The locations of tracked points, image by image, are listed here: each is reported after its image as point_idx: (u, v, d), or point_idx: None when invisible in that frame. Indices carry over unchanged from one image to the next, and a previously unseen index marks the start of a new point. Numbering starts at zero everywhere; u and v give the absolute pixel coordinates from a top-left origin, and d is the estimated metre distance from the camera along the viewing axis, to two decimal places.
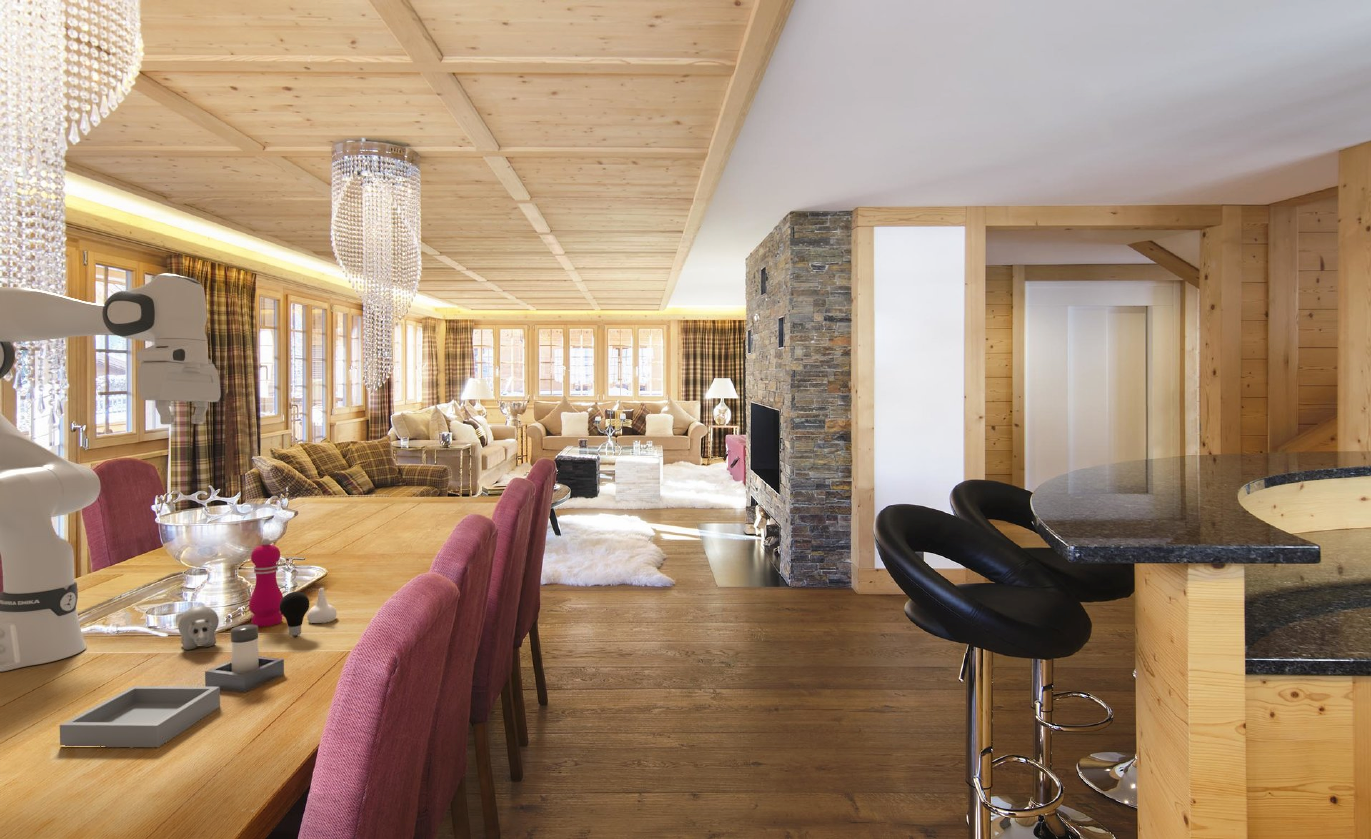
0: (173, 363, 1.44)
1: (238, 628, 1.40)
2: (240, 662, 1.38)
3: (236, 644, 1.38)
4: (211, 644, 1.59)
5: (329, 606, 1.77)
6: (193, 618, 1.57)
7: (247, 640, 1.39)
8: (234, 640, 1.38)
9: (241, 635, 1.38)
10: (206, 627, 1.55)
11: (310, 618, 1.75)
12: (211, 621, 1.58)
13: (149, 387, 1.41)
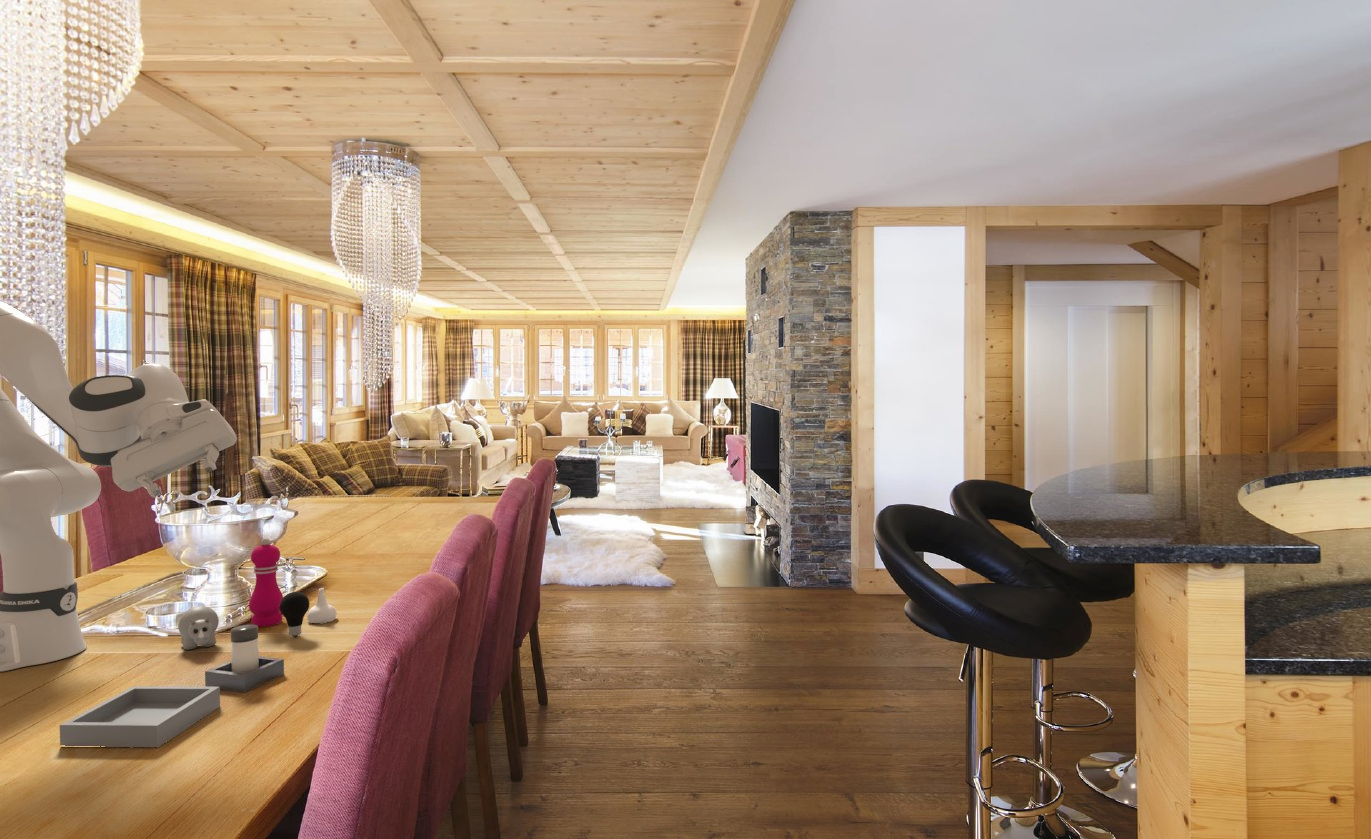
0: None
1: (238, 628, 1.40)
2: (240, 662, 1.38)
3: (236, 644, 1.38)
4: (211, 644, 1.59)
5: (329, 606, 1.77)
6: (193, 618, 1.57)
7: (247, 640, 1.39)
8: (234, 640, 1.38)
9: (241, 635, 1.38)
10: (206, 627, 1.55)
11: (310, 619, 1.75)
12: (211, 621, 1.58)
13: (232, 430, 1.41)
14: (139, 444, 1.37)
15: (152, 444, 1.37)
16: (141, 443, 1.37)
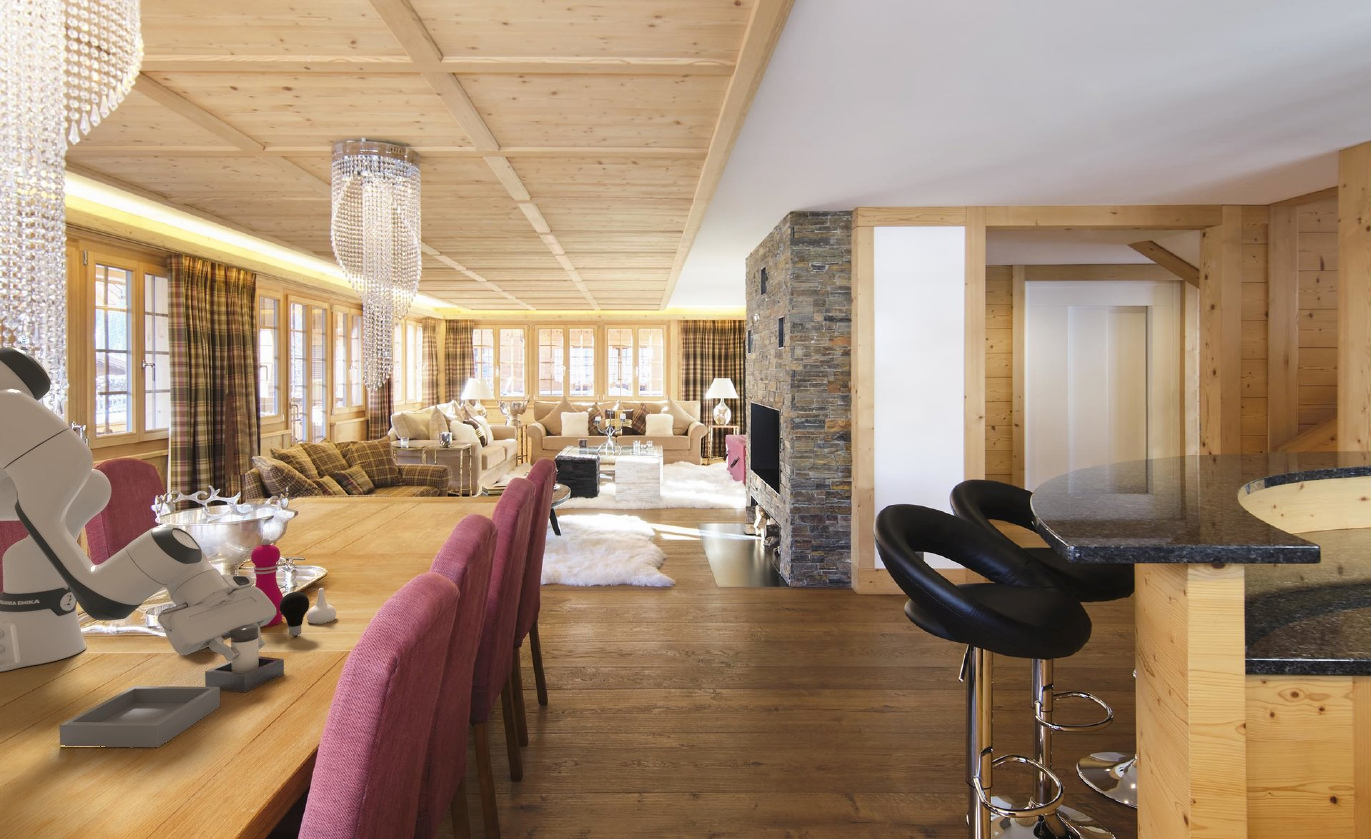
0: None
1: (238, 628, 1.40)
2: (240, 662, 1.38)
3: (236, 644, 1.38)
4: None
5: (329, 606, 1.77)
6: None
7: (247, 640, 1.39)
8: (234, 640, 1.38)
9: (241, 635, 1.38)
10: None
11: (310, 619, 1.75)
12: None
13: None
14: (196, 607, 1.37)
15: (208, 610, 1.39)
16: (197, 607, 1.38)
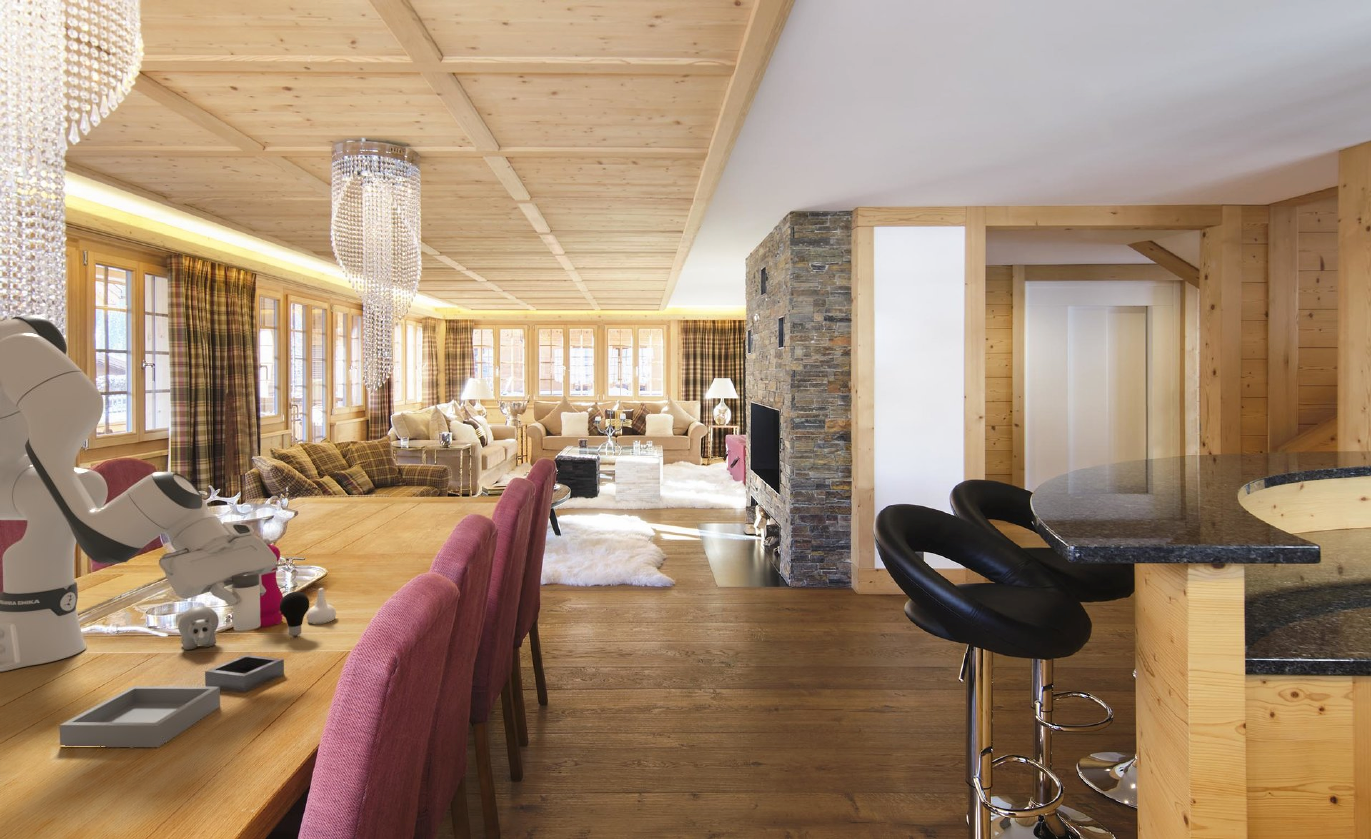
0: None
1: (239, 574, 1.40)
2: (241, 607, 1.38)
3: (238, 590, 1.38)
4: (211, 644, 1.59)
5: (328, 606, 1.77)
6: (193, 618, 1.57)
7: (248, 586, 1.39)
8: (235, 586, 1.38)
9: (242, 581, 1.38)
10: (206, 627, 1.55)
11: (310, 619, 1.74)
12: (211, 621, 1.58)
13: None
14: (197, 553, 1.37)
15: (209, 556, 1.39)
16: (198, 552, 1.38)
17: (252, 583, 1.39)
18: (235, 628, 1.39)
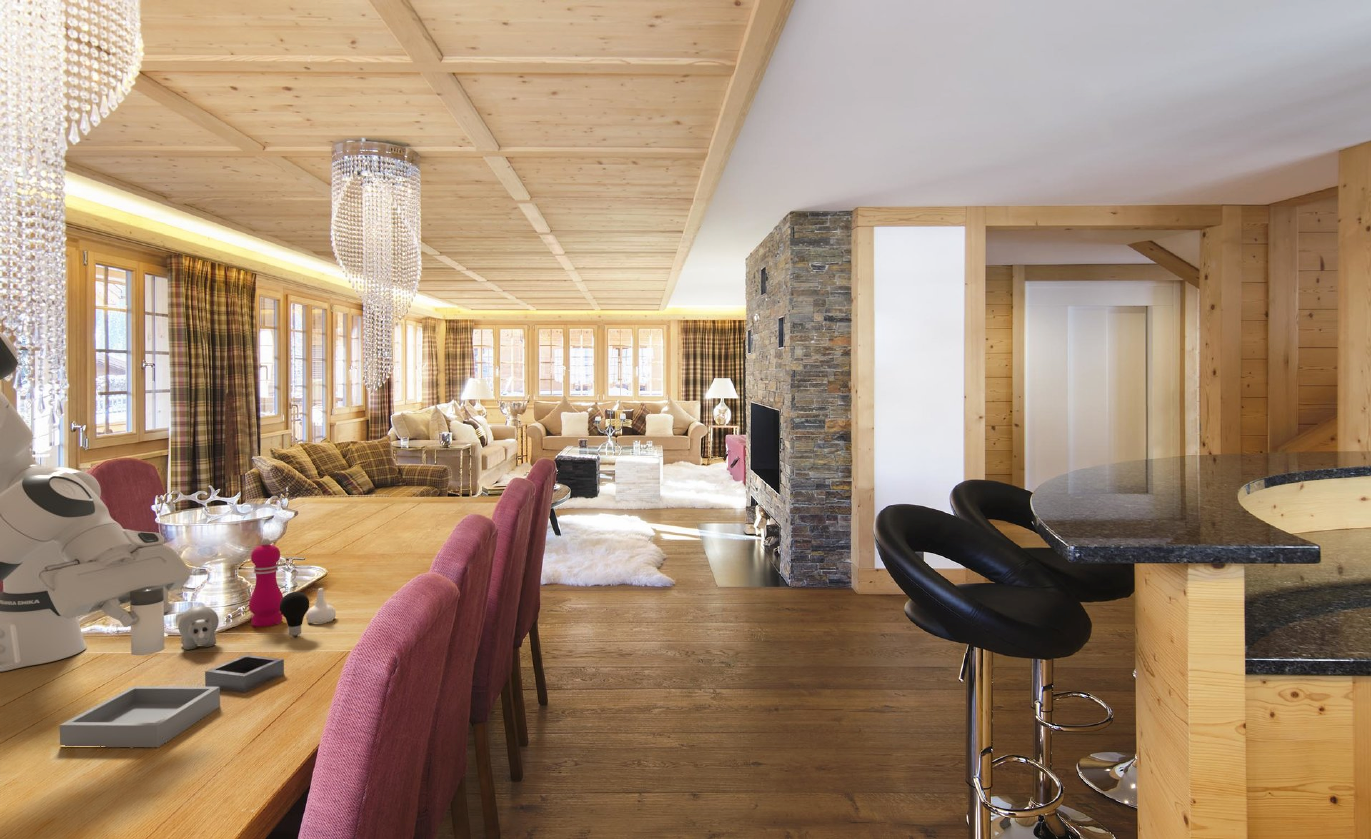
0: None
1: (139, 589, 1.21)
2: (140, 628, 1.20)
3: (136, 607, 1.19)
4: (211, 644, 1.59)
5: (328, 606, 1.77)
6: (193, 618, 1.57)
7: (148, 603, 1.20)
8: (133, 603, 1.19)
9: (140, 597, 1.19)
10: (206, 627, 1.55)
11: (309, 619, 1.74)
12: (211, 621, 1.58)
13: None
14: (88, 565, 1.19)
15: (104, 568, 1.20)
16: (90, 564, 1.19)
17: (153, 600, 1.20)
18: (132, 652, 1.20)
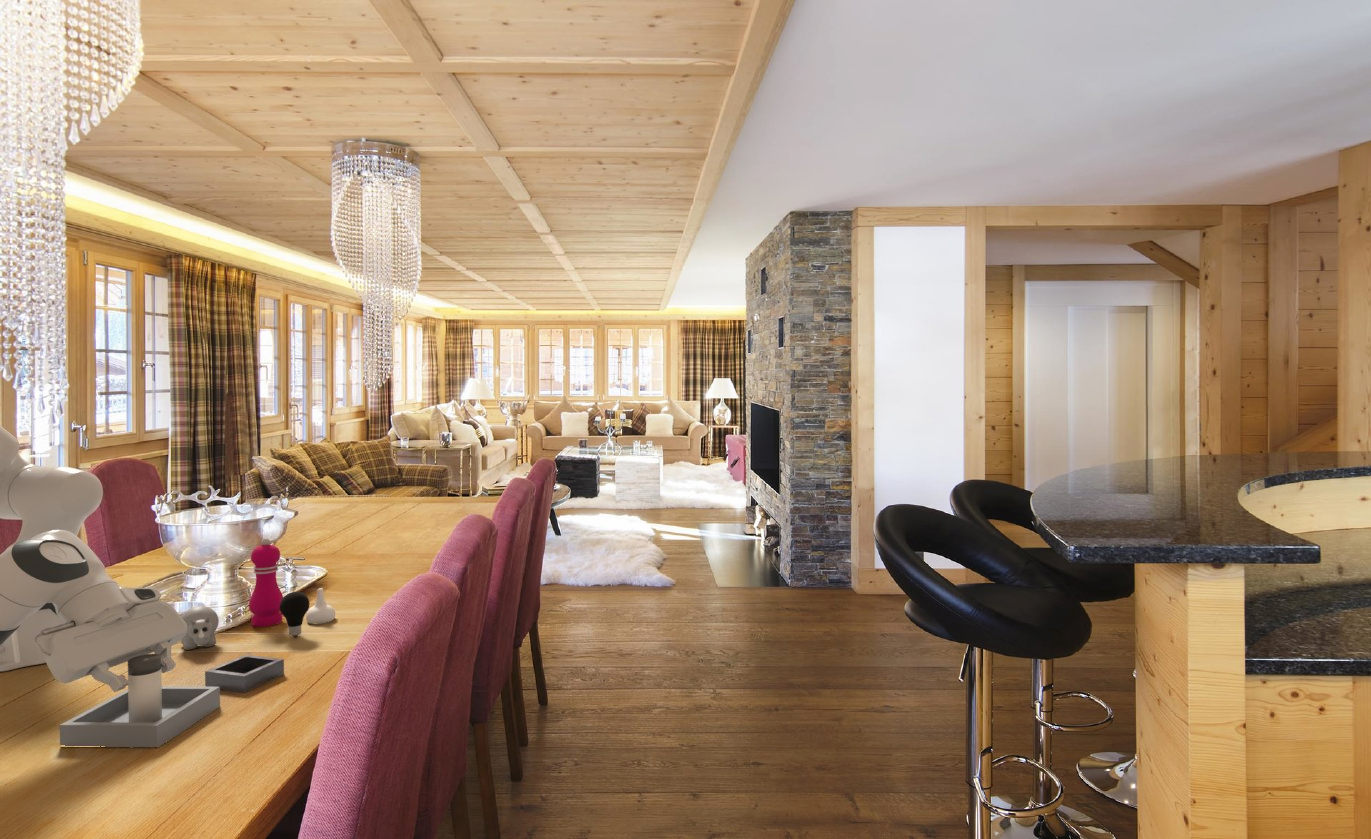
0: None
1: (137, 658, 1.21)
2: (137, 698, 1.19)
3: (133, 677, 1.19)
4: (211, 644, 1.59)
5: (328, 606, 1.77)
6: (193, 618, 1.57)
7: (146, 673, 1.20)
8: (131, 673, 1.19)
9: (138, 667, 1.19)
10: (206, 627, 1.55)
11: (309, 619, 1.74)
12: (211, 621, 1.58)
13: None
14: (84, 627, 1.18)
15: (100, 629, 1.20)
16: (86, 626, 1.19)
17: (151, 669, 1.20)
18: (130, 722, 1.20)
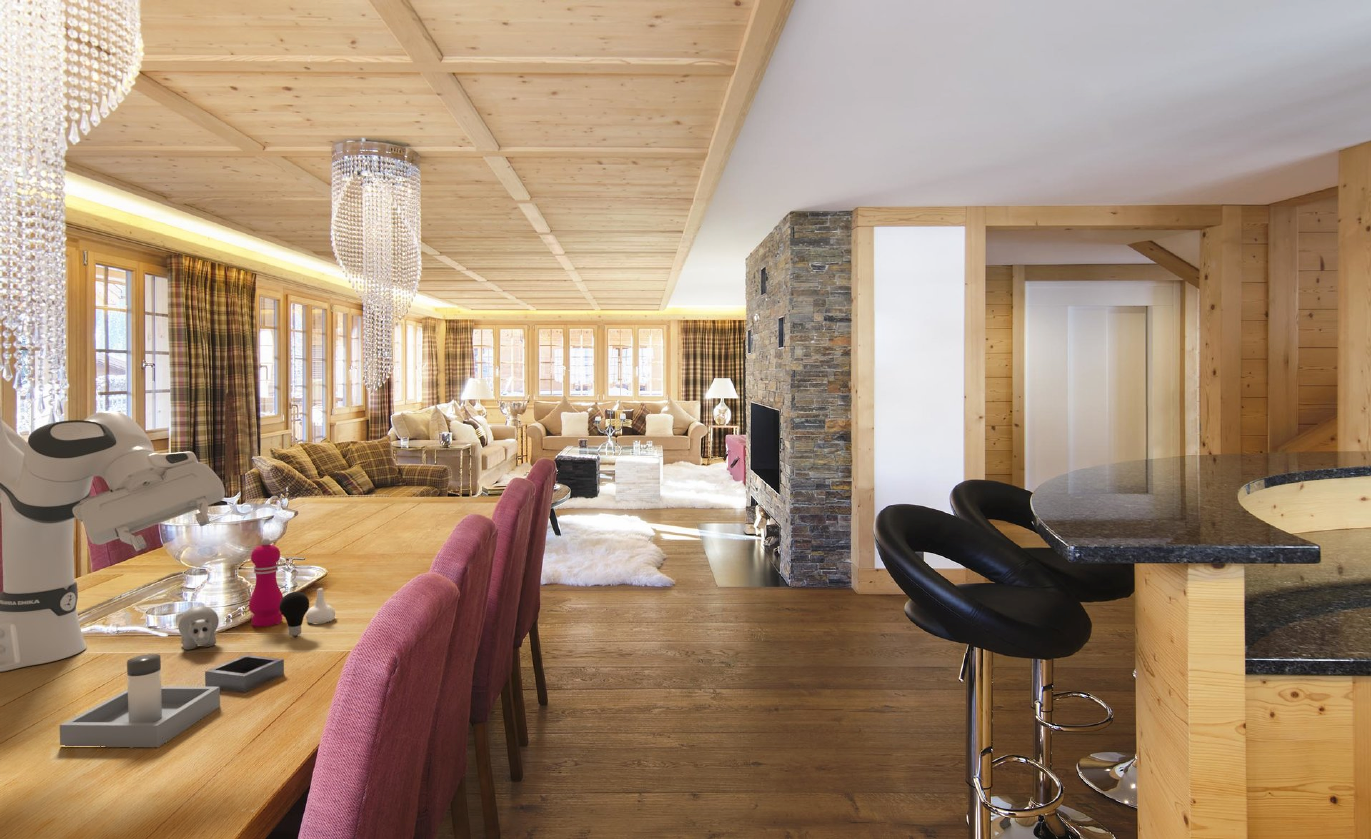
0: None
1: (136, 659, 1.21)
2: (137, 699, 1.19)
3: (133, 678, 1.19)
4: (211, 644, 1.59)
5: (328, 606, 1.77)
6: (193, 618, 1.57)
7: (146, 673, 1.20)
8: (130, 673, 1.19)
9: (138, 668, 1.19)
10: (206, 627, 1.55)
11: (309, 619, 1.74)
12: (211, 621, 1.58)
13: None
14: (113, 494, 1.25)
15: (130, 494, 1.26)
16: (115, 493, 1.26)
17: (150, 670, 1.20)
18: (130, 722, 1.20)
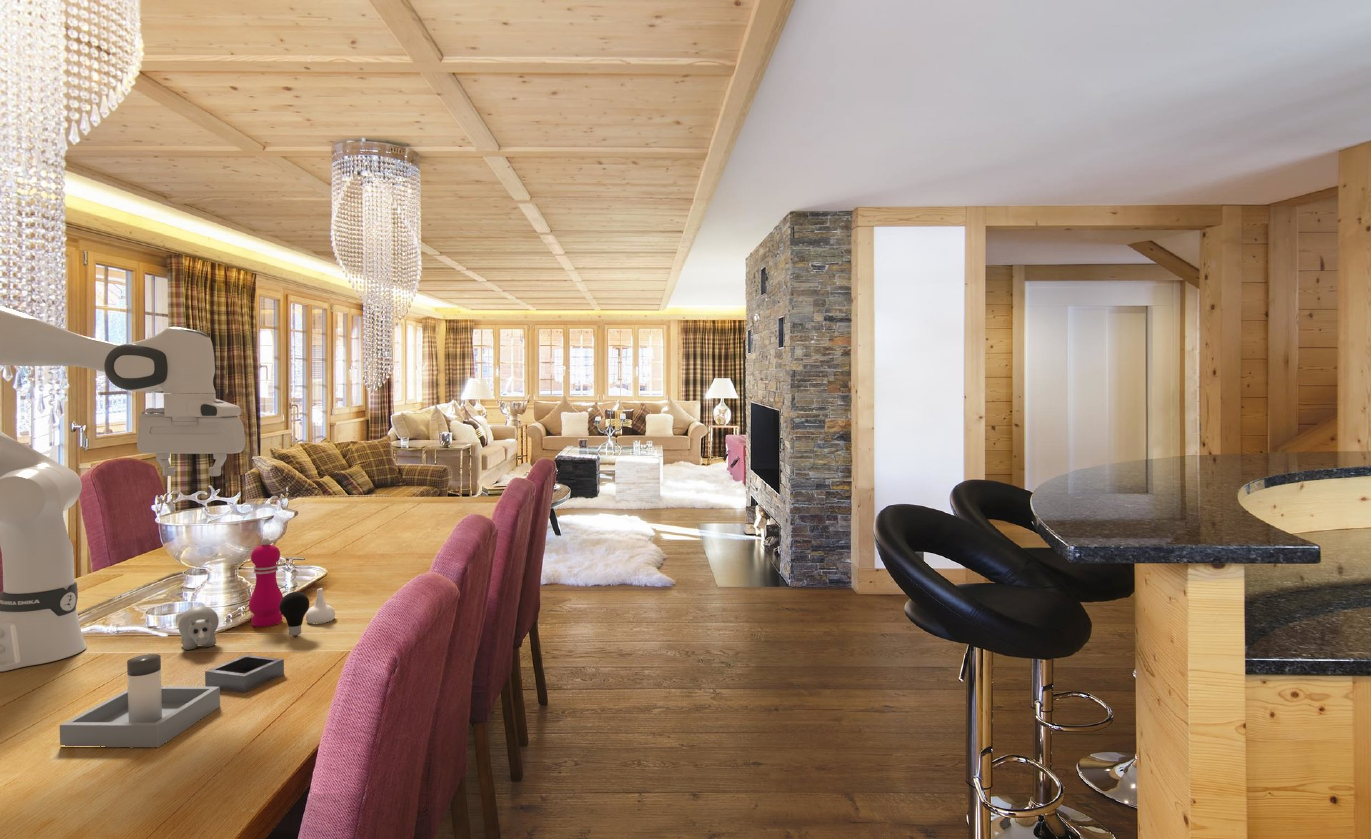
0: None
1: (137, 659, 1.21)
2: (137, 698, 1.19)
3: (133, 678, 1.19)
4: (211, 644, 1.59)
5: (327, 606, 1.77)
6: (193, 618, 1.57)
7: (146, 673, 1.20)
8: (130, 673, 1.19)
9: (138, 667, 1.19)
10: (206, 627, 1.55)
11: (309, 619, 1.74)
12: (211, 621, 1.58)
13: (240, 441, 1.52)
14: (162, 420, 1.50)
15: (172, 426, 1.50)
16: (163, 420, 1.50)
17: (150, 670, 1.20)
18: (130, 722, 1.20)
